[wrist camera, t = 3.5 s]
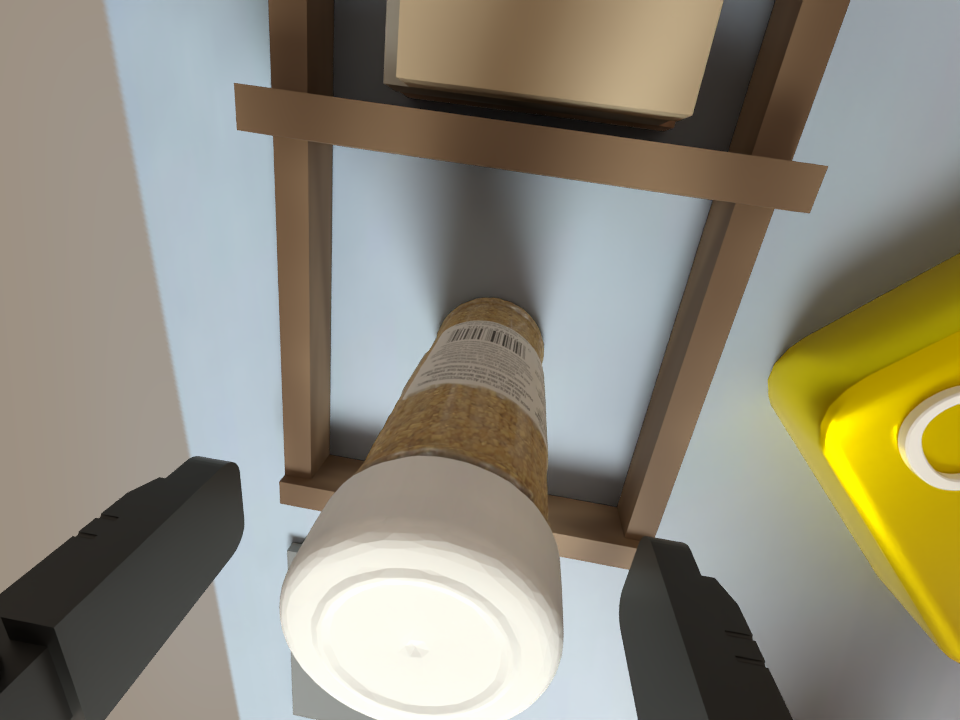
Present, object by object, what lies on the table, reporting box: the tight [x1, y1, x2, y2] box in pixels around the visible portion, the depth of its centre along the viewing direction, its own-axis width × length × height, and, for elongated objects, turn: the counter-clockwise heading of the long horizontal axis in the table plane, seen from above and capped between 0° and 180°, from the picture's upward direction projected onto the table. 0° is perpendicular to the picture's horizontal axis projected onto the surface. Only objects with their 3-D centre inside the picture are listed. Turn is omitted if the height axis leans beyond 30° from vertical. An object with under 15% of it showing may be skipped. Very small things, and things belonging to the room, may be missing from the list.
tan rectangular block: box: [383, 0, 724, 131], centre depth 13 cm, size 9×4×4 cm, turn 83°
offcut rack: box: [234, 0, 850, 570], centre depth 16 cm, size 16×23×4 cm
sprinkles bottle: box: [279, 298, 563, 720], centre depth 13 cm, size 5×5×13 cm
